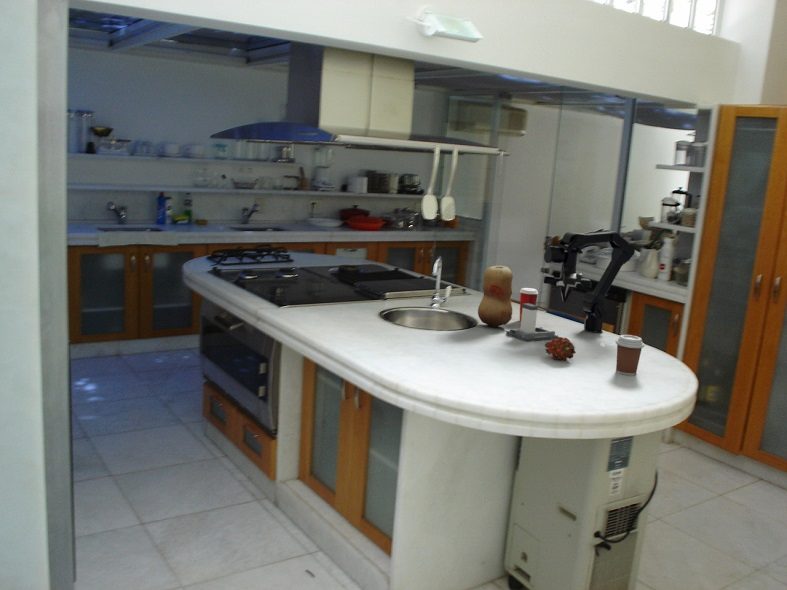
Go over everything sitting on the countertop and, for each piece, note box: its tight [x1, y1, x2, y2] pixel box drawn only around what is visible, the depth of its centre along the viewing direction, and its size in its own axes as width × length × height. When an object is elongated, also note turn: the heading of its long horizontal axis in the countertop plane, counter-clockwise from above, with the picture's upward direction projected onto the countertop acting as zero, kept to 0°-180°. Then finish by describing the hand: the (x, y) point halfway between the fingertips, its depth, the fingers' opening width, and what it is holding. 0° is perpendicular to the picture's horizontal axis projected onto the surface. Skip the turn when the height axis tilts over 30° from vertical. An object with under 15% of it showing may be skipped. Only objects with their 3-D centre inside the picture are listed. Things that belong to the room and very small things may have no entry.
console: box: [505, 326, 559, 343], centre depth 282 cm, size 16×12×2 cm
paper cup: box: [519, 287, 539, 323], centre depth 308 cm, size 8×8×14 cm
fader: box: [517, 303, 539, 333], centre depth 280 cm, size 6×5×12 cm
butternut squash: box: [477, 265, 514, 328], centre depth 293 cm, size 14×13×25 cm
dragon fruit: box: [544, 336, 576, 362], centre depth 252 cm, size 8×8×12 cm
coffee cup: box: [615, 334, 645, 376], centre depth 240 cm, size 9×9×12 cm
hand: (564, 302), depth 293 cm, fingers closed
